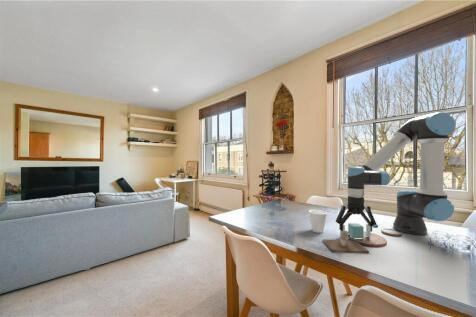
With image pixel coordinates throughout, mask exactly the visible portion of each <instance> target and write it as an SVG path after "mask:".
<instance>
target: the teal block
mask: <svg viewBox="0 0 476 317" xmlns="http://www.w3.org/2000/svg"><path fill="white" fill-rule="evenodd" d="M347 230H348V231H347V232H348V234H349V235H350V236H351V237H352V238H363V239H364V226H363V225H361V224H360V223H357V222H355V223H351V222H350V223H348V224H347ZM351 237H350V238H351ZM352 238H351V239H352Z"/></svg>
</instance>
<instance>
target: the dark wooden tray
mask: <svg viewBox="0 0 476 317" xmlns="http://www.w3.org/2000/svg"><path fill="white" fill-rule="evenodd" d="M339 232H340V233H339V234H340V235H339V236H340V239H325V238H324V239H322V241H321V242H323V243H324V244H325V246H326V247H327V248H328V249H329V251H330V252H332V253H350V254H351V253H355V254H370V250H368V249H367V248H366V247H365V246H363V245H362V244H361V243H359V242H358V241H357V239H349V236H348V231H347V230H345V231H341V230H340V231H339Z"/></svg>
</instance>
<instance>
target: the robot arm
mask: <svg viewBox="0 0 476 317" xmlns="http://www.w3.org/2000/svg"><path fill="white" fill-rule="evenodd" d="M456 127H457V123H456V120H455V118H454V117H453V116H451V114H449V113H447V112H441V111H440V112H434V113H433V112H432V113H429V114H426V115H422V116H417V117H414V118H411V119H410V120H408V121H407V122H405V123H404V124H402V125H401V127H399V128H398V129H397V130H396V131H394V133H393V135H392V136H393V137H391V138H390V139H389V140H388V141H387V142H386V143H385V144H384V145H383V146H382V147H380V149H378V150H377V152H375V154H374V155H372V157H371V156H370V158H369V159H368V160H367V161H366V162H365V163H363V164H362V165H361V166H350V167H348V169H347V205H343V204H342V205H341V206H340V207H341V208H340V210H339V212H338V215H337V217H336V219H335V223H337V224H338V226H339V228H338V229H339V230H340V231H346V225H345V224H346V222H347V221H348V220H349V218H350V217H351V216H352V215H360V216H361V217H362V218H363V219H364V221H365V222H366V224H365V237H366V236H367V237H369V238H371V237H372V236H371V235H372V234H371V232H373V227H374V225H377V222H376V220H375V218H374V214H373V213H372V209H371V208H372V207H371V206H369V205H367V204H366V205H365V186H381V187H382V186H387V185H389V183H390V181H391V176H390V174H389V172H388V171H386V170H380V169H382V167H384V166H385V165H386V164H387V163H388V162H389V161H390V160H391V159H392V158H393V157H394V156H396V155H397V154H398V152H400V151H401V150H402V149H403V148H404V147H405V146H406V145H410V144H411V143H412V142H413V141H417V142H418V143H419V144H420V168H419V169H420V172H419V174H420V175H419V177H420V178H419V189H418V190H398V191H397V193H396V216H395V219H394V222H393V223H392V224H393V225H392V228H393V229H394V230H395V231H399V232H402V233H406V234H410V235H417V236H418V235H419V236H424V235H428V228H427V225H426V223H425V220H424V218H425V219H427V220H429V221H434V222H445V221H447V220H449V218H452V216H453V215H454V212H455V206H454V203H452V201H451V200H449V199H448V194H447V193H446V192H445V191H444V165H445V164H444V159H445V158H444V157H445V143H446V142H447V141H448V140H449V135H451V134H452V133H453V132H454V131H455V130H456ZM346 210H347V211H346ZM365 211H366V213H365ZM345 212H346V213H345ZM366 214H367V215H366ZM367 237H366V238H367ZM369 238H368V239H369Z"/></svg>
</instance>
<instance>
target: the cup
mask: <svg viewBox="0 0 476 317" xmlns="http://www.w3.org/2000/svg"><path fill="white" fill-rule="evenodd" d="M308 214H309V220H310V227H311V231H312V232H314V233H316V234H317V233H318V234H322V233H323V232H324V230H325V224H326V219H327V214H328V212H327V211H324V210H322V209H321V210H320V209H310V210H308Z"/></svg>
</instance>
